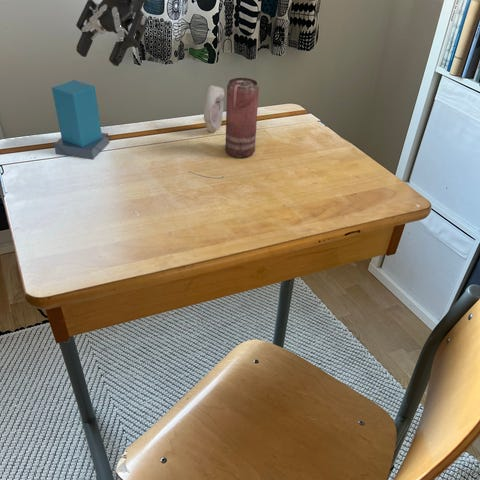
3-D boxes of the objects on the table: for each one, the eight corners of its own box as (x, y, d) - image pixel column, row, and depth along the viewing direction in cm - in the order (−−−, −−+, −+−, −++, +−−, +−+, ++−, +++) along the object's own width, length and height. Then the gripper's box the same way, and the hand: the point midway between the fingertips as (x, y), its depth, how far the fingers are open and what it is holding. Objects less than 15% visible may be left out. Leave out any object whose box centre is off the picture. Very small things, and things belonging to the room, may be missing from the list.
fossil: (211, 139, 111) (211, 91, 104) (198, 134, 112) (197, 87, 105) (226, 130, 114) (227, 83, 107) (213, 126, 116) (213, 79, 109)
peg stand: (55, 153, 102) (44, 102, 95) (73, 137, 108) (65, 88, 101) (93, 159, 101) (85, 108, 94) (109, 142, 107) (102, 93, 100)
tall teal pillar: (82, 130, 106) (73, 79, 99) (102, 137, 104) (94, 86, 97) (61, 139, 103) (51, 87, 96) (81, 147, 100) (72, 94, 94)
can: (220, 156, 105) (222, 84, 95) (230, 144, 109) (233, 74, 100) (249, 161, 103) (253, 89, 94) (258, 149, 108) (262, 79, 98)
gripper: (91, -40, 97) (57, 39, 98) (149, -30, 92) (112, 54, 92) (114, -12, 104) (82, 62, 105) (169, 0, 99) (135, 78, 99)
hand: (96, 58), depth 98 cm, fingers open, 8 cm apart
